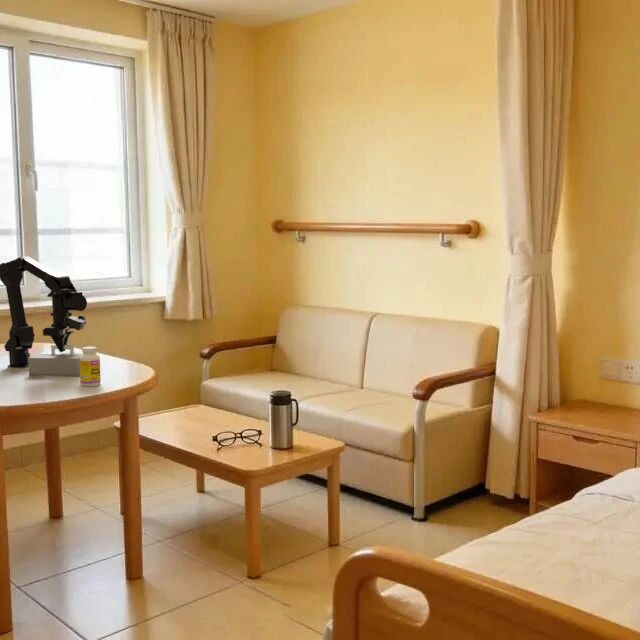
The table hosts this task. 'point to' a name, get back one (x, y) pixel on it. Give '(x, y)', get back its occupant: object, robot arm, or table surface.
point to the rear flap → (61, 352)
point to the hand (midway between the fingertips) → (62, 351)
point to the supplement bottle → (89, 367)
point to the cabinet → (54, 365)
